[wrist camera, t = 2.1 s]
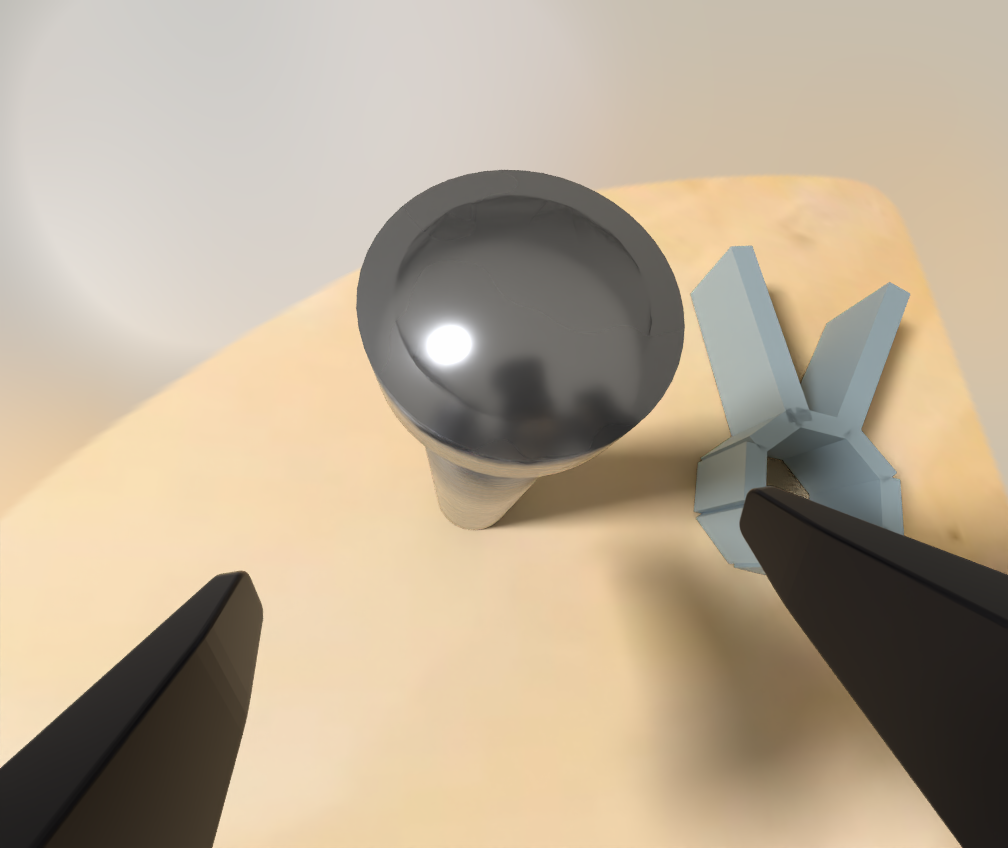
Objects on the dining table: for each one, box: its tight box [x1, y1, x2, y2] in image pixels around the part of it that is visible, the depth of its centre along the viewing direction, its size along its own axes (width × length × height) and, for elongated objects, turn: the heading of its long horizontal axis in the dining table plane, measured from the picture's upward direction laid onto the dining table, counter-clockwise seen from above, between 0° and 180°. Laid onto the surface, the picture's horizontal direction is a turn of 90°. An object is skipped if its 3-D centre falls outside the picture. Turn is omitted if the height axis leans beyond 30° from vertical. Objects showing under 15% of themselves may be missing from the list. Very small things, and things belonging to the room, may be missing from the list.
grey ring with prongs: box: [691, 246, 910, 575], centre depth 19 cm, size 13×8×4 cm, turn 167°
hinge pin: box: [356, 170, 685, 530], centre depth 12 cm, size 4×4×14 cm
